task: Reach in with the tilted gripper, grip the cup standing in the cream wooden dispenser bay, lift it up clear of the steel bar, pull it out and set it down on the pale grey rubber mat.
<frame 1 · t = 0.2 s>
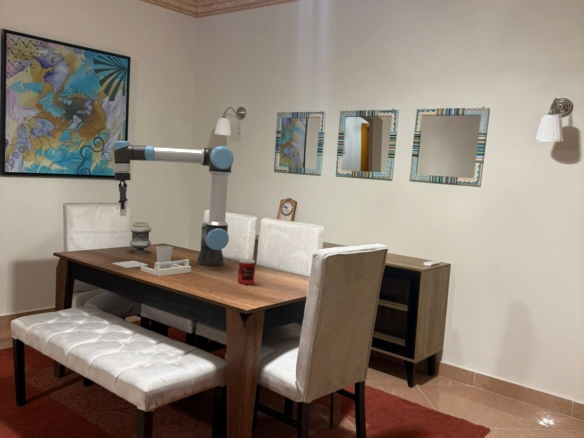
hand: (123, 215, 269), 27 cm above the table, tool pointing down, fingers open, 13 cm apart
apothecary jar: (140, 253, 319), on the table
canned food: (245, 283, 257), on the table
dispenser bay: (164, 270, 272), on the table
mat: (130, 264, 282), on the table
cup: (163, 271, 273), on the table
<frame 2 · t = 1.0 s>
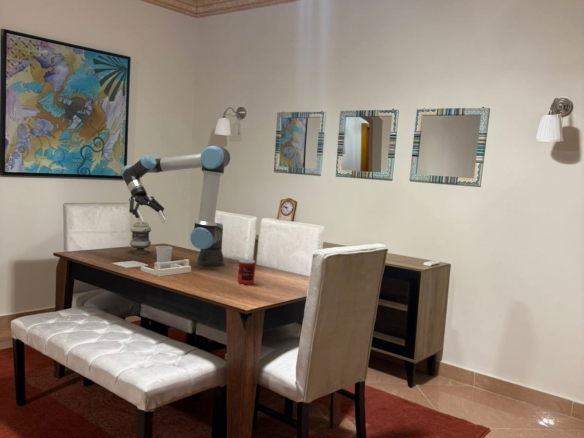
hand: (153, 222, 277), 24 cm above the table, tool tilted 45°, fingers open, 13 cm apart
nothing on the table moved.
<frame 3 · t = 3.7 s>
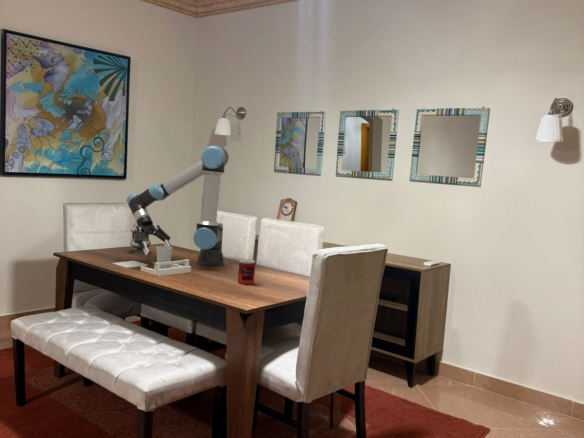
hand: (158, 252, 274), 9 cm above the table, tool tilted 45°, fingers open, 13 cm apart
nothing on the table moved.
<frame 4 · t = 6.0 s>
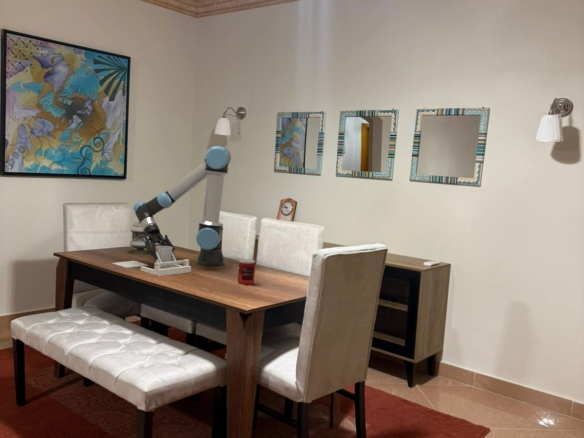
hand: (167, 263, 270), 4 cm above the table, tool tilted 45°, fingers closed on cup, 8 cm apart
cup: (163, 271, 273), on the table, touching gripper
everything else where it was.
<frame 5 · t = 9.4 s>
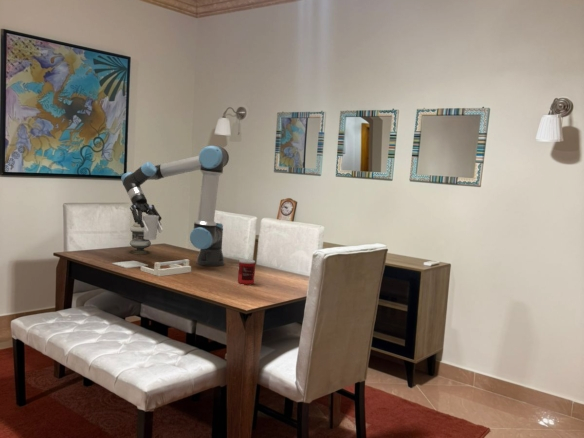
hand: (154, 231, 277), 19 cm above the table, tool tilted 45°, fingers closed on cup, 8 cm apart
cup: (149, 239, 280), point 14 cm above the table, touching gripper
everything else where it was.
when the fingers open (6 cm above the table, at t = 13.0 s): cup stays where it is, resting on mat.
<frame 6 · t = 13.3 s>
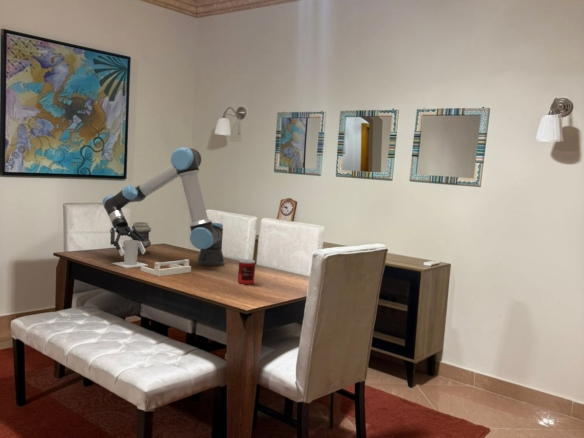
hand: (133, 253, 280), 6 cm above the table, tool tilted 45°, fingers open, 12 cm apart
cup: (130, 264, 282), resting on mat
everything else where it was.
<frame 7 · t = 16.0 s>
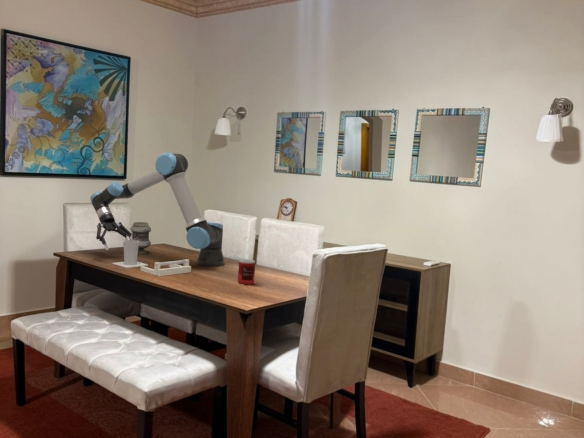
hand: (119, 247, 288), 7 cm above the table, tool tilted 45°, fingers open, 13 cm apart
nothing on the table moved.
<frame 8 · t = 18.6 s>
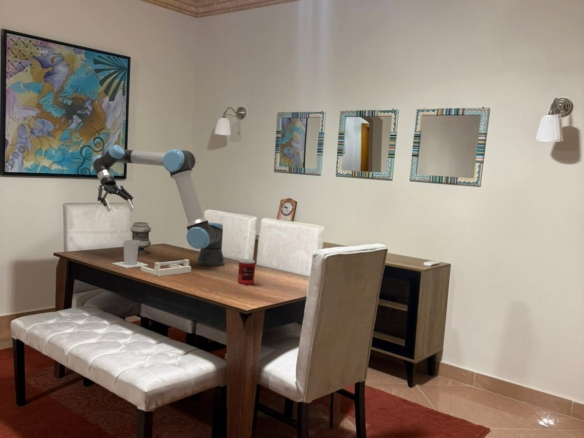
hand: (121, 210, 286), 28 cm above the table, tool tilted 45°, fingers open, 13 cm apart
nothing on the table moved.
at the end: cup inside the target area on the mat (0.1 cm from its centre), point 0.3 cm above the mat's base; cup tilted 0°; the gripper is holding nothing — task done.
